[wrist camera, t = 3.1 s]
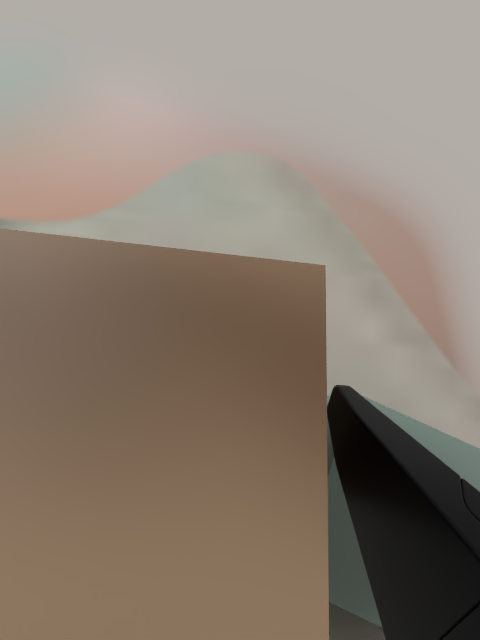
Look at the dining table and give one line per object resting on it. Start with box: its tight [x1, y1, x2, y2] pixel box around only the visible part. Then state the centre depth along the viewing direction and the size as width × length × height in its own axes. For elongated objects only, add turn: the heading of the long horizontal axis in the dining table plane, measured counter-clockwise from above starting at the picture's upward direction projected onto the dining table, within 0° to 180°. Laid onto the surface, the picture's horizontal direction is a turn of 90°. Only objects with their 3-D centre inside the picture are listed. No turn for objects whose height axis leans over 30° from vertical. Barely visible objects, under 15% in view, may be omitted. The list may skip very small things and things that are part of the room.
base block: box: [327, 396, 480, 627], centre depth 13 cm, size 7×7×4 cm
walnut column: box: [0, 229, 329, 640], centre depth 10 cm, size 5×5×12 cm
